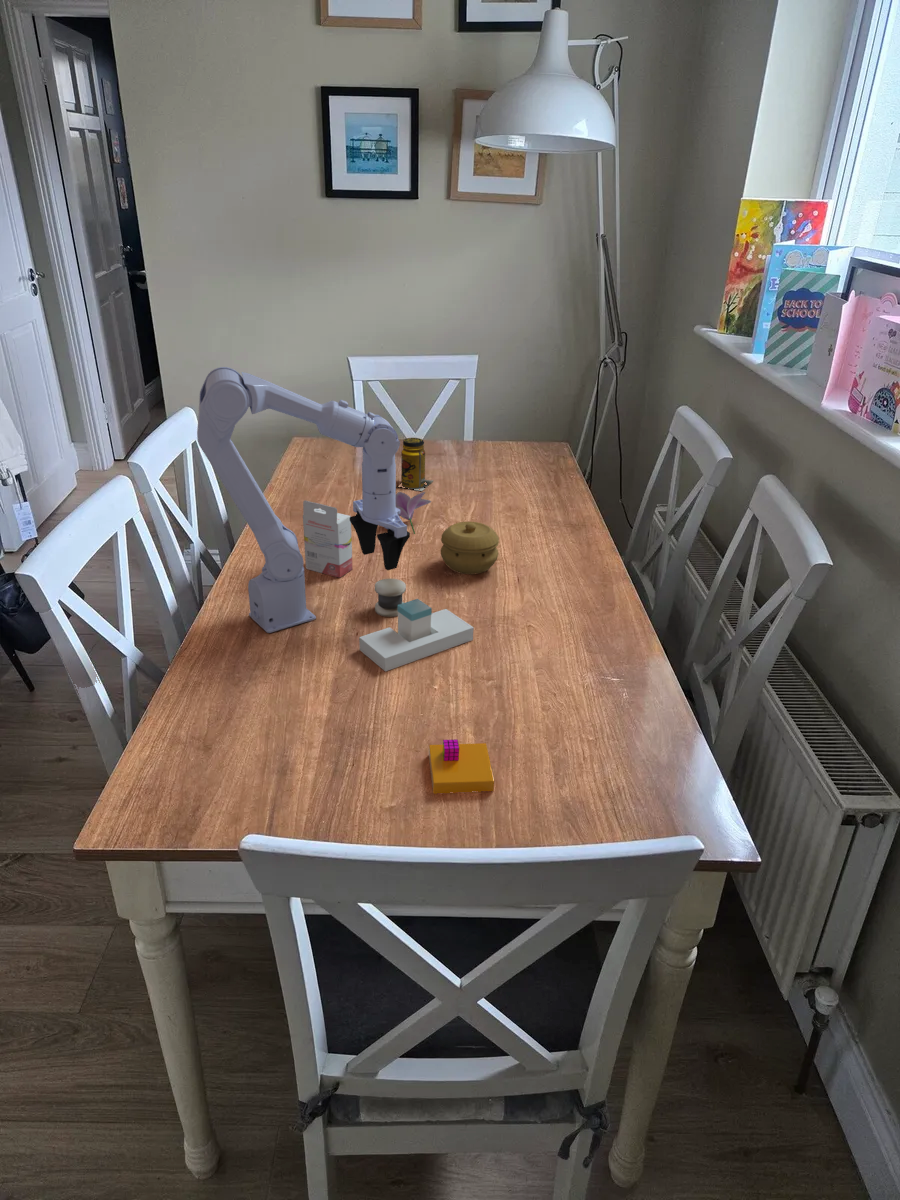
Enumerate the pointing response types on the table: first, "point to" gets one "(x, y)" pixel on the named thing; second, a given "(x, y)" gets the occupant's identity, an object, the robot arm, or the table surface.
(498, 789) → the table surface
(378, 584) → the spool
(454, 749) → the mustard square tile
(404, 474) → the condiment
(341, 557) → the ink cartridge box
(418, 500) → the lily
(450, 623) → the notched board
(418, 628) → the teal and white block
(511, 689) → the table surface
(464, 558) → the pot
